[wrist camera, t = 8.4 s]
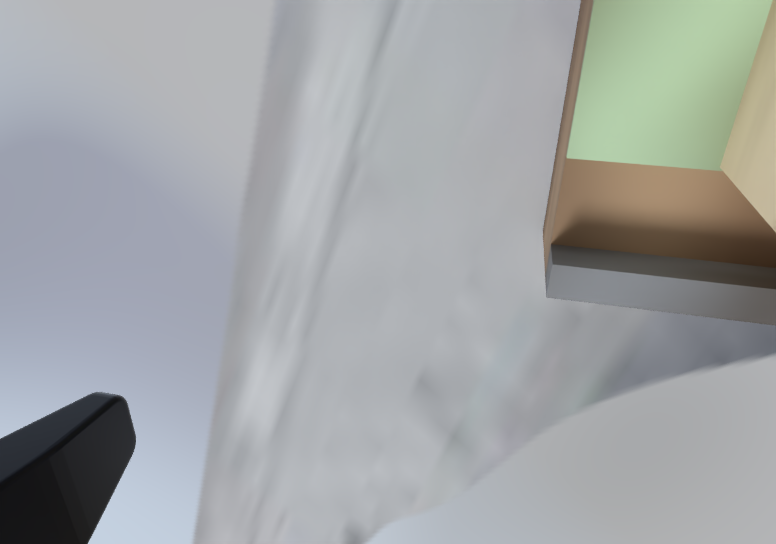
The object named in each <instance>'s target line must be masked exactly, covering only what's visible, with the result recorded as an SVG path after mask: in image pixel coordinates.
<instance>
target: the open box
mask: <svg viewBox="0 0 776 544" xmlns="http://www.w3.org/2000/svg"><path fill="white" fill-rule="evenodd" d="M772 1H773V0H581V5H580V11H579V17H578V23H577V29H576V35H575V41H574V47H573V53H572V59H571V65H570V71H569V77H568V83H567V89H566V95H565V101H564V107H563V113H562V119H561V125H560V131H559V137H558V143H557V149H556V155H555V161H554V167H553V173H552V180H551V186H550V192H549V198H548V204H547V210H546V216H545V222H544V228H543V242H544V261H545V280H546V297H547V298H555V299H563V300H571V301H579V302H588V303H596V304H604V305H612V306H621V307H629V308H637V309H645V310H653V311H662V312H670V313H678V314H686V315H694V316H703V317H711V318H719V319H727V320H735V321H744V322H752V323H760V324H768V325H776V232H775V231H774V230H773V229H772V228H771V226H770V225H769V224H768V223H767V222H766V221H765V219H764V218H763V217H762V216H761V215H760V214H759V212H758V211H757V210H756V209H755V208H754V207H753V205H752V204H751V203H750V202H749V201H748V200H747V198H746V197H745V196H744V195H743V194H742V193H741V191H740V190H739V189H738V188H737V187H736V186H735V184H734V183H733V182H732V181H731V180H730V179H729V178H728V176H727V175H726V174H725V173H724V172H723V171H722V169H721V168H720V165H721V162H722V159H723V156H724V153H725V150H726V147H727V143H728V140H729V137H730V134H731V131H732V128H733V124H734V121H735V118H736V115H737V112H738V109H739V105H740V102H741V99H742V96H743V93H744V90H745V86H746V83H747V80H748V77H749V74H750V71H751V67H752V64H753V61H754V58H755V55H756V52H757V48H758V45H759V42H760V39H761V36H762V33H763V29H764V26H765V23H766V20H767V17H768V14H769V10H770V7H771V4H772Z"/></svg>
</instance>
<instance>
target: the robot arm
mask: <svg viewBox="0 0 776 544" xmlns="http://www.w3.org/2000/svg"><path fill="white" fill-rule="evenodd" d="M135 444H136V435H135V431H134V427H133V423H132V419H131V415H130V412H129V408H128V404H127V401H126V400H125V399H124V398H123V397H122V396H120V395H115V394H109V393H103V392H95V393H92V394H90V395H87V396H86V397H83V398H81V399H79V400H77V401H75V402H73V403H72V404H69V405H67V406H65V407H63V408H61V409H59V410H57V411H55V412H53V413H51V414H49V415H47V416H45V417H43V418H41V419H39V420H37V421H35V422H33V423H31V424H29V425H27V426H25V427H23V428H21V429H19V430H17V431H15V432H13V433H11V434H9V435H7V436H5V437H3V438H1V439H0V544H88V542H89V540H90V538H91V536H92V534H93V532H94V530H95V528H96V526H97V524H98V522H99V521H100V519H101V517H102V514H103V513H104V511H105V508H106V507H107V504H108V502H109V501H110V499H111V496H112V495H113V493H114V490H115V489H116V487H117V484H118V483H119V481H120V478H121V477H122V474H123V473H124V470H125V468H126V467H127V465H128V463H129V460H130V458H131V457H132V454H133V452H134V449H135Z"/></svg>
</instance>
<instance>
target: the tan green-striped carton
mask: <svg viewBox="0 0 776 544" xmlns="http://www.w3.org/2000/svg"><path fill="white" fill-rule="evenodd" d="M720 168H721V169H722V171H723V172H724V173H725V174H726V175H727V176H728V178H729V179H730V180H731V181H732V182H733V183H734V184H735V186H736V187H737V188H738V189H739V190H740V191H741V193H742V194H743V195H744V196H745V197H746V198H747V200H748V201H749V202H750V203H751V204H752V205H753V207H754V208H755V209H756V210H757V211H758V212H759V214H760V215H761V216H762V217H763V218H764V219H765V221H766V222H767V223H768V224H769V225H770V226H771V228H772V229H773V230H774V231H775V232H776V0H773V1H772V4H771V7H770V10H769V14H768V17H767V20H766V23H765V26H764V29H763V33H762V36H761V39H760V42H759V45H758V48H757V52H756V55H755V58H754V61H753V64H752V67H751V71H750V74H749V77H748V80H747V83H746V86H745V90H744V93H743V96H742V99H741V102H740V105H739V109H738V112H737V115H736V118H735V121H734V124H733V128H732V131H731V134H730V137H729V140H728V143H727V147H726V150H725V153H724V156H723V159H722V162H721V165H720Z"/></svg>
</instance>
